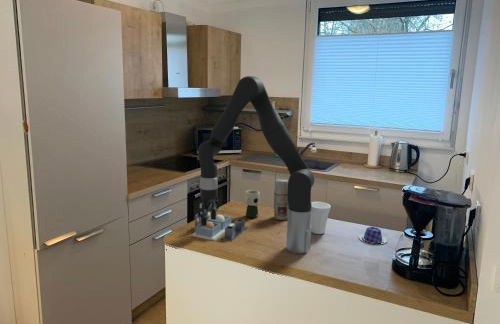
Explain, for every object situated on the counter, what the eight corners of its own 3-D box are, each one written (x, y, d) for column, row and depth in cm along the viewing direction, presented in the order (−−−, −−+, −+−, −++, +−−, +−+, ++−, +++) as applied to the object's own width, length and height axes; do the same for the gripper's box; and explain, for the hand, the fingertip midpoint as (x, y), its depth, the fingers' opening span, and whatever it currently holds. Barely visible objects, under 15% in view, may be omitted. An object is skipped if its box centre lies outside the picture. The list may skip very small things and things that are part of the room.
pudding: (392, 241, 173) (394, 230, 172) (375, 247, 166) (376, 236, 165) (370, 232, 182) (371, 222, 181) (353, 238, 176) (354, 227, 175)
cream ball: (226, 224, 185) (226, 214, 184) (221, 227, 180) (221, 217, 180) (217, 222, 187) (217, 212, 186) (211, 225, 182) (212, 215, 181)
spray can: (270, 218, 196) (271, 179, 192) (277, 214, 203) (278, 176, 199) (286, 222, 192) (288, 182, 188) (292, 217, 199) (294, 178, 195)
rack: (234, 225, 186) (234, 216, 185) (214, 240, 168) (214, 231, 167) (214, 221, 190) (214, 213, 190) (192, 235, 172) (192, 226, 172)
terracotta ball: (216, 231, 176) (216, 221, 175) (210, 235, 171) (210, 224, 170) (206, 229, 178) (206, 219, 177) (200, 233, 173) (200, 222, 172)
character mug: (252, 221, 192) (253, 195, 190) (240, 218, 196) (240, 193, 193) (263, 214, 202) (264, 190, 199) (251, 212, 205) (252, 188, 202)
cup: (322, 238, 174) (324, 210, 171) (302, 232, 180) (304, 205, 177) (332, 231, 182) (334, 204, 179) (313, 226, 188) (314, 200, 185)
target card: (209, 223, 187) (209, 207, 186) (195, 232, 176) (195, 215, 174) (208, 223, 187) (208, 207, 186) (194, 232, 176) (194, 215, 174)
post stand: (247, 228, 183) (247, 219, 182) (232, 241, 168) (232, 230, 167) (237, 226, 184) (237, 217, 184) (221, 238, 170) (221, 228, 169)
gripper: (208, 192, 162) (208, 229, 166) (224, 184, 175) (223, 218, 179) (192, 189, 165) (192, 226, 169) (209, 181, 178) (209, 216, 181)
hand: (208, 222), depth 174 cm, fingers open, 8 cm apart
